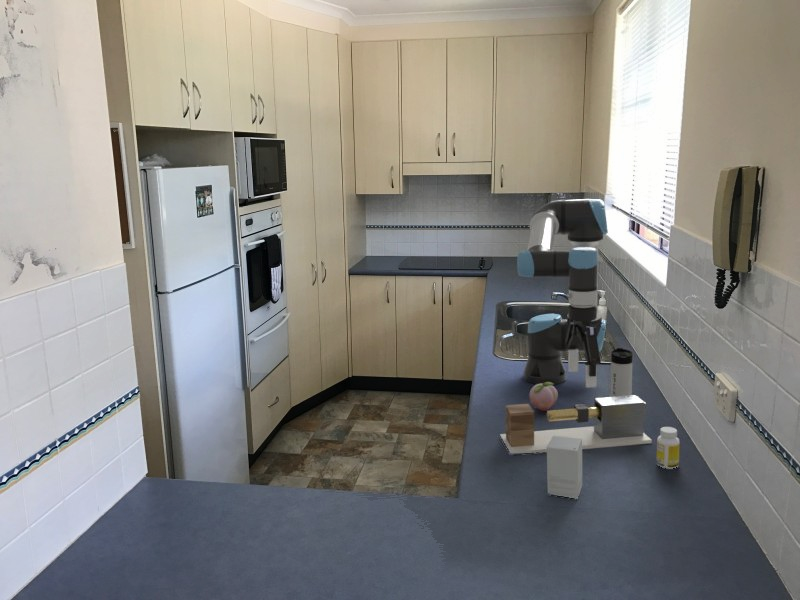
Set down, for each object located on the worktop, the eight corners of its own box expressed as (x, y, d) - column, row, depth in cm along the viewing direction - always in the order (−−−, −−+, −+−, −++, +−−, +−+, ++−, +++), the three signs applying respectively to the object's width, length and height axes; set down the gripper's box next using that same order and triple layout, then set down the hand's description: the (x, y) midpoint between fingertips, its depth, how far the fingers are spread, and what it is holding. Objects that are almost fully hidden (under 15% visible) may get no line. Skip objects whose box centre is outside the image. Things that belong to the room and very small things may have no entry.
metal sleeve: (593, 430, 189) (594, 398, 187) (635, 427, 190) (636, 394, 188) (602, 439, 183) (602, 405, 181) (645, 435, 184) (646, 402, 182)
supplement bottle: (680, 463, 169) (682, 427, 167) (676, 471, 165) (678, 435, 163) (658, 458, 172) (660, 424, 170) (654, 467, 168) (655, 431, 166)
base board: (500, 437, 190) (500, 434, 190) (632, 426, 193) (632, 423, 193) (510, 455, 178) (510, 452, 178) (651, 443, 181) (651, 439, 181)
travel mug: (628, 408, 207) (629, 347, 203) (633, 416, 200) (635, 353, 196) (607, 408, 208) (609, 347, 203) (612, 416, 201) (613, 354, 197)
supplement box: (583, 486, 160) (583, 438, 158) (577, 500, 154) (578, 451, 151) (552, 481, 163) (552, 434, 161) (546, 495, 157) (546, 446, 154)
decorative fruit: (538, 403, 214) (538, 374, 212) (561, 408, 209) (561, 379, 207) (523, 412, 207) (523, 382, 205) (547, 418, 202) (546, 387, 200)
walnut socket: (506, 438, 187) (505, 405, 185) (528, 436, 188) (527, 403, 185) (511, 447, 181) (510, 413, 179) (534, 445, 182) (534, 411, 180)
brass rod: (546, 420, 186) (546, 407, 185) (634, 412, 188) (635, 399, 187) (550, 425, 182) (550, 411, 181) (640, 417, 184) (640, 404, 183)
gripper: (554, 296, 189) (554, 366, 194) (586, 315, 165) (585, 395, 169) (579, 294, 190) (578, 364, 194) (614, 313, 166) (613, 392, 170)
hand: (581, 378), depth 182 cm, fingers open, 13 cm apart
